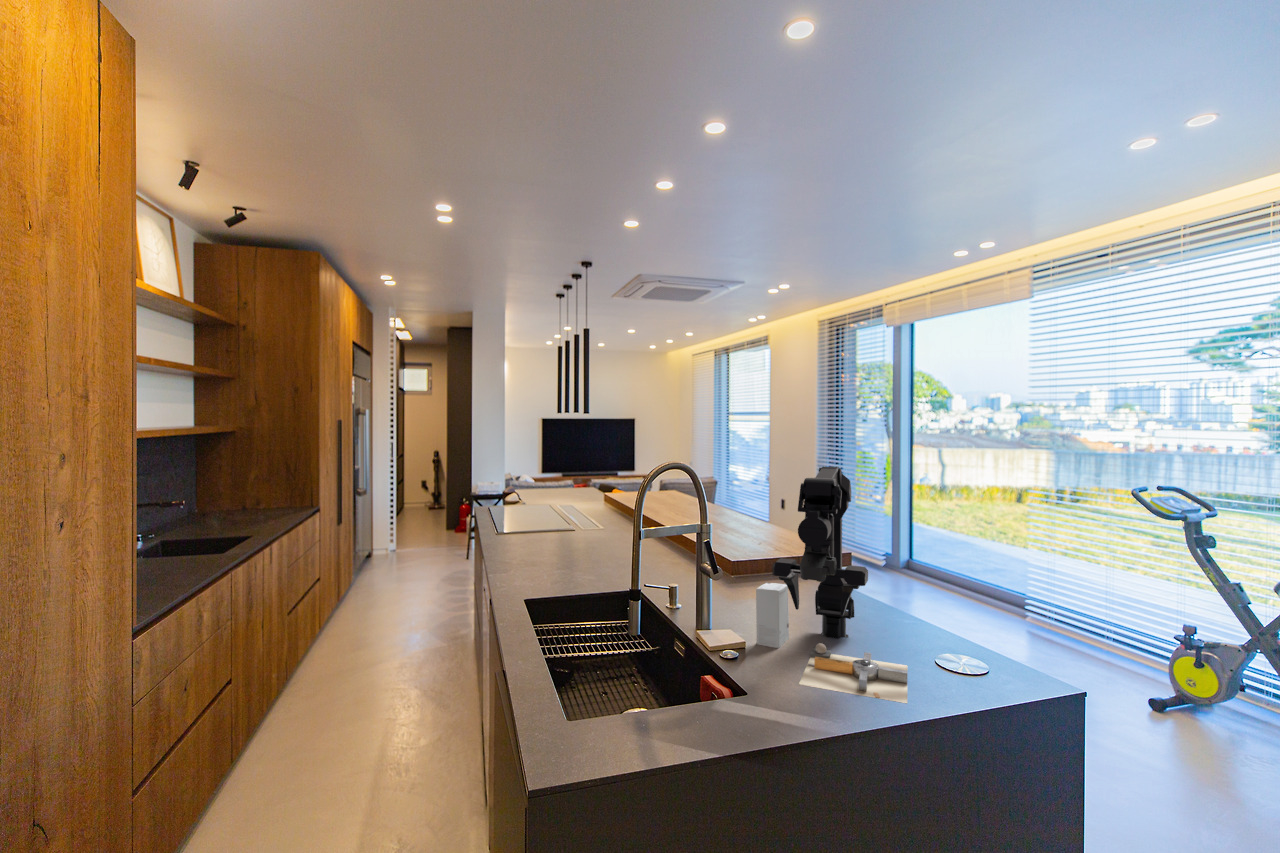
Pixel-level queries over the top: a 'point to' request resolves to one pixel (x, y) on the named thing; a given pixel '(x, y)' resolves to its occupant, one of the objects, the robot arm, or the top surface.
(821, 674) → the board with rotating cross
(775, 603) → the skincare box
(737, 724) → the top surface
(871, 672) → the capstan
